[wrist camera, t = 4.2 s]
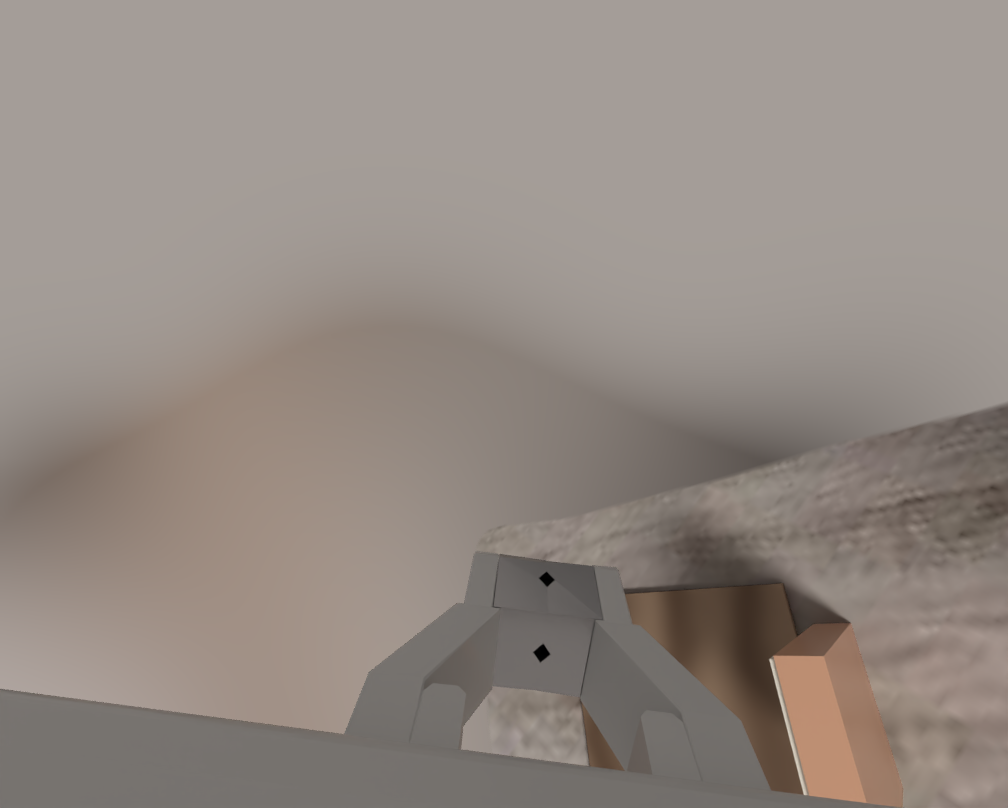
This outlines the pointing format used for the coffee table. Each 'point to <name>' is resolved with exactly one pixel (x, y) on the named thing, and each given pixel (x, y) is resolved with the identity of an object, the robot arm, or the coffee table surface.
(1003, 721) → the coffee table surface
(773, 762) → the walnut board
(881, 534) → the coffee table surface
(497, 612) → the robot arm
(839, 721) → the terracotta tile
